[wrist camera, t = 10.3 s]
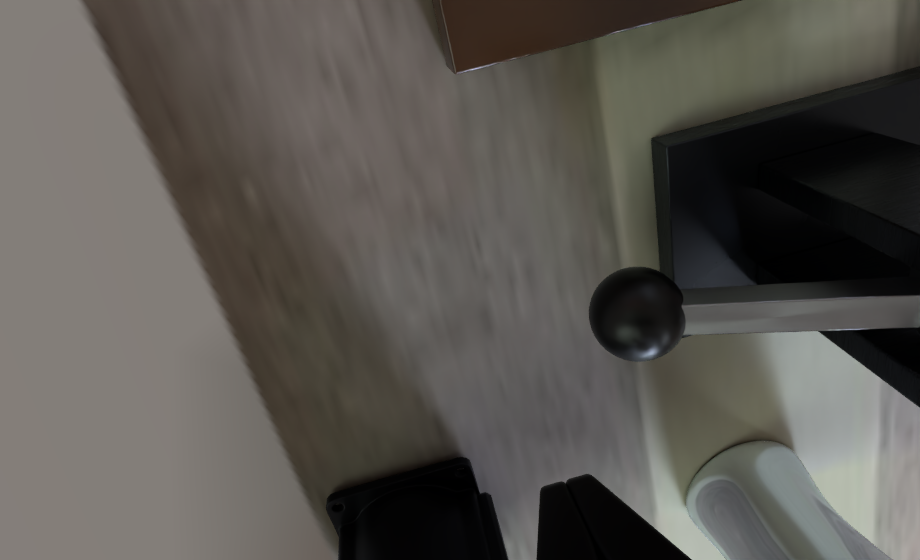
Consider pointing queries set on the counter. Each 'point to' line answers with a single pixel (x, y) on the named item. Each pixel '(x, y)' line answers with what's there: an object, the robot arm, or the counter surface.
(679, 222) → the black lever housing
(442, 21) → the control block
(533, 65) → the counter surface
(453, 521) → the robot arm
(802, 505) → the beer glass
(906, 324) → the lever with ball knob
